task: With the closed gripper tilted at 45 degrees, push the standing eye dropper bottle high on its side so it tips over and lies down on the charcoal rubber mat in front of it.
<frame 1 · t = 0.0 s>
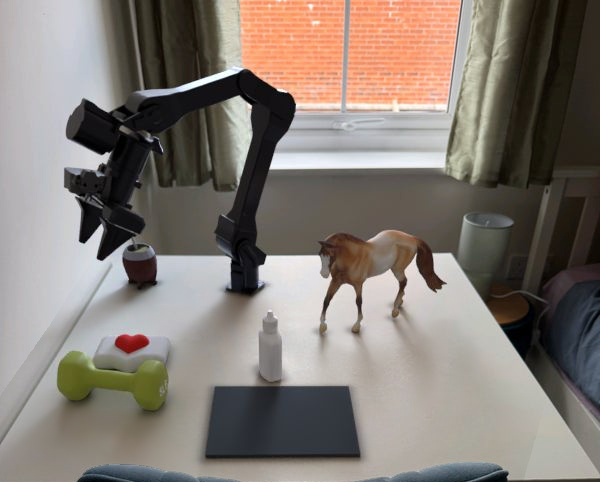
hand: (90, 251, 106), 15 cm above the table, tool tilted 35°, fingers open, 9 cm apart
icon: (133, 362, 105), on the table
dumbbell: (117, 400, 95), on the table
eye dropper bottle: (270, 374, 102), on the table
horse figurine: (381, 327, 117), on the table
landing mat: (282, 420, 92), on the table
mate gourd: (141, 283, 130), on the table
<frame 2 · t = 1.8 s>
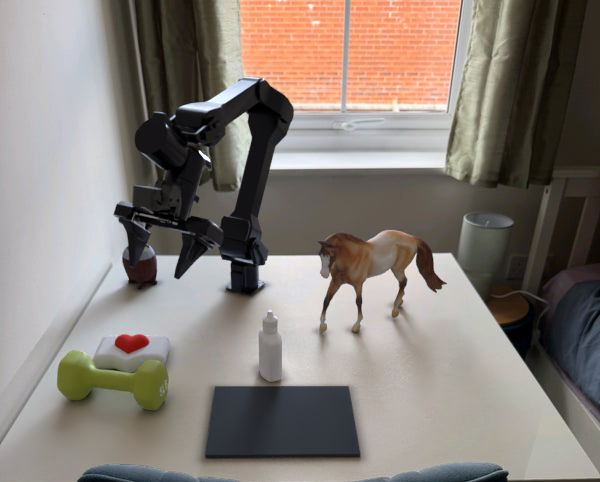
hand: (153, 272, 100), 15 cm above the table, tool tilted 40°, fingers open, 9 cm apart
nothing on the table moved.
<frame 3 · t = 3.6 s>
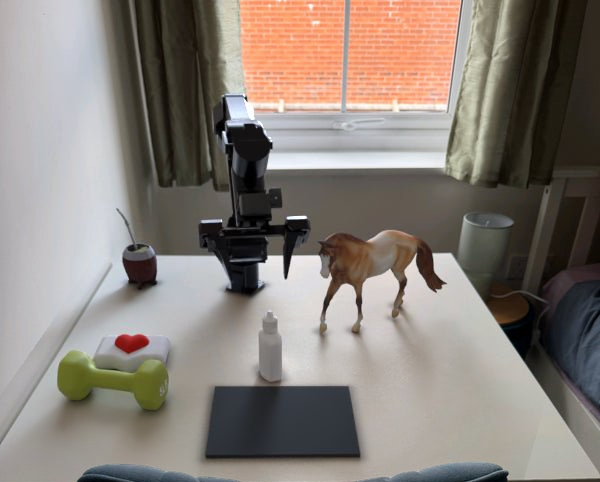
hand: (259, 280, 101), 14 cm above the table, tool tilted 45°, fingers open, 9 cm apart
nothing on the table moved.
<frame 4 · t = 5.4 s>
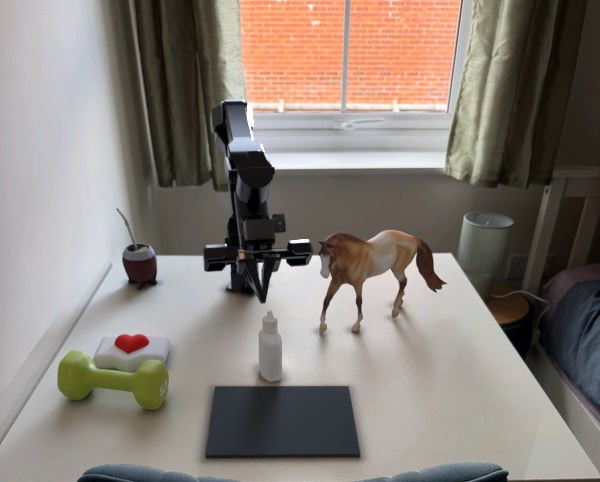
hand: (263, 302, 103), 10 cm above the table, tool tilted 45°, fingers closed
nothing on the table moved.
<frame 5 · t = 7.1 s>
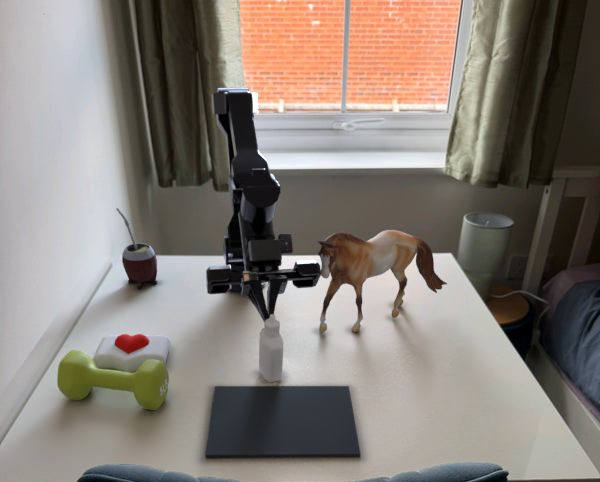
hand: (269, 326, 98), 9 cm above the table, tool tilted 45°, fingers closed, pressing on eye dropper bottle
eye dropper bottle: (270, 372, 102), on the table, touching gripper
everything else where it was.
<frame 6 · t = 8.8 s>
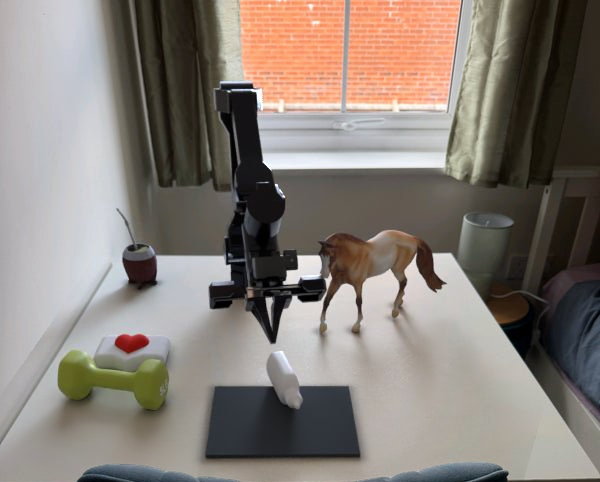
hand: (273, 343, 96), 8 cm above the table, tool tilted 45°, fingers closed
eye dropper bottle: (275, 364, 98), point 3 cm above the table, touching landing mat
everything else where it was.
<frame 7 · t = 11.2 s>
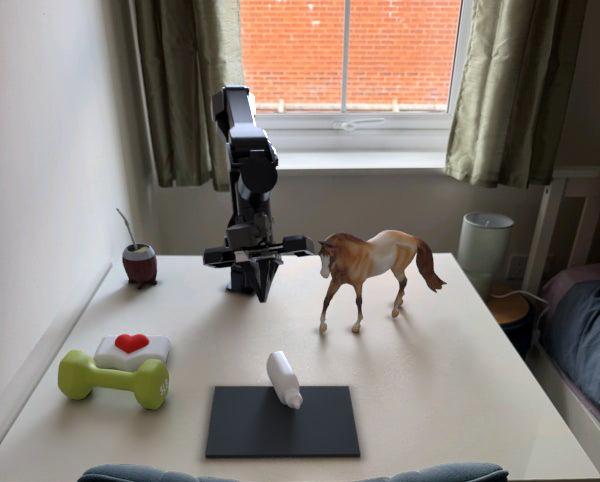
hand: (262, 302, 103), 9 cm above the table, tool tilted 35°, fingers closed
nothing on the table moved.
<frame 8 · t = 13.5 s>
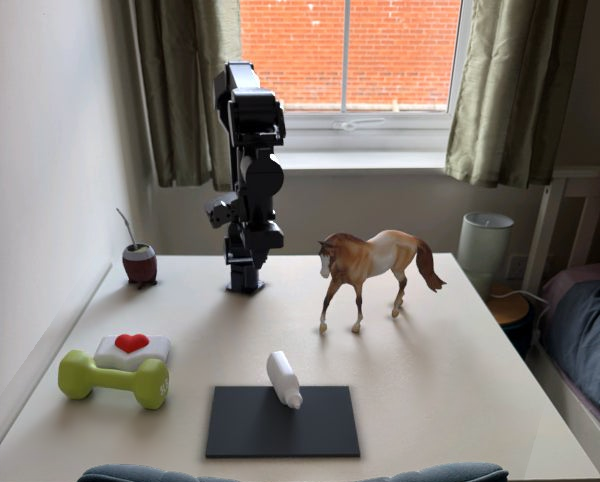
hand: (257, 268, 106), 13 cm above the table, tool pointing down, fingers closed
nothing on the table moved.
at the end: eye dropper bottle tilted 90°; eye dropper bottle touching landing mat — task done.
